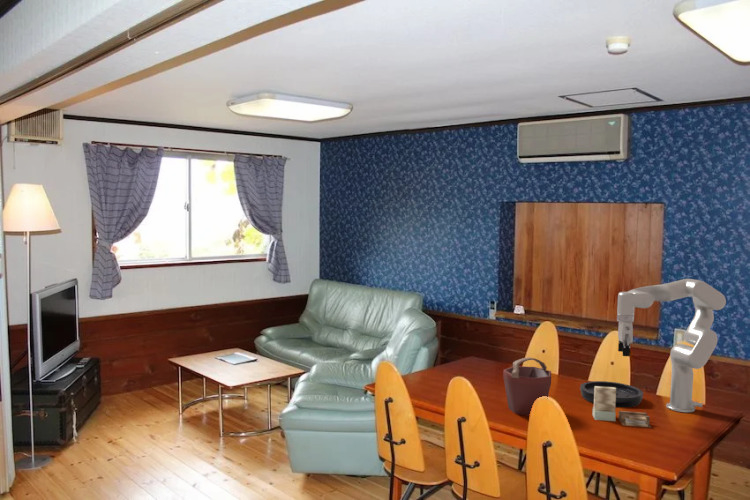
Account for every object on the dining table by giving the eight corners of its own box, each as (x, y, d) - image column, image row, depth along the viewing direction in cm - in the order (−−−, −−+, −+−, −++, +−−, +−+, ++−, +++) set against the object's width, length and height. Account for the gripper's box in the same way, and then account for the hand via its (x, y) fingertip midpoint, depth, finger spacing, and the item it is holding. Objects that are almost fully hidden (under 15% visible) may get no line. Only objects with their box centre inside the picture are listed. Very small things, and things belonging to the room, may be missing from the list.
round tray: (583, 406, 308) (648, 411, 302) (584, 394, 308) (649, 399, 302) (576, 389, 338) (635, 393, 332) (577, 378, 337) (636, 382, 331)
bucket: (518, 420, 285) (520, 366, 283) (491, 405, 305) (492, 355, 304) (561, 414, 295) (563, 361, 293) (532, 400, 315) (534, 351, 313)
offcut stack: (645, 424, 280) (646, 416, 280) (647, 426, 277) (648, 419, 277) (624, 422, 281) (625, 415, 281) (626, 425, 278) (626, 417, 278)
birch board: (613, 417, 289) (615, 387, 288) (614, 419, 286) (616, 388, 285) (593, 415, 290) (594, 386, 289) (594, 417, 288) (595, 387, 287)
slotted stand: (612, 417, 291) (612, 408, 291) (615, 423, 284) (616, 413, 283) (591, 416, 293) (592, 406, 293) (594, 421, 285) (595, 412, 285)
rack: (645, 422, 286) (646, 412, 286) (651, 429, 276) (651, 419, 276) (618, 420, 288) (618, 410, 288) (622, 427, 278) (623, 417, 278)
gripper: (638, 321, 288) (636, 358, 289) (629, 315, 305) (628, 350, 306) (621, 320, 289) (619, 357, 290) (613, 314, 306) (612, 349, 307)
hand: (623, 353), depth 298 cm, fingers open, 9 cm apart
